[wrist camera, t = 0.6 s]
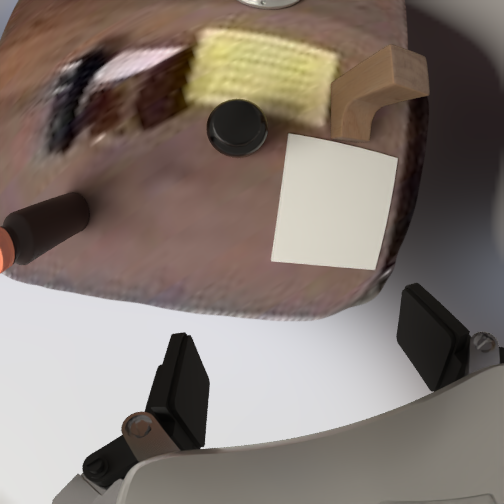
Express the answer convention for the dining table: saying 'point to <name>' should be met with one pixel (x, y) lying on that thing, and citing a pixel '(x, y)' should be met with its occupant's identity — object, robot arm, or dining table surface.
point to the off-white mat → (332, 204)
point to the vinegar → (41, 228)
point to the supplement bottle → (237, 128)
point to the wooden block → (375, 90)
